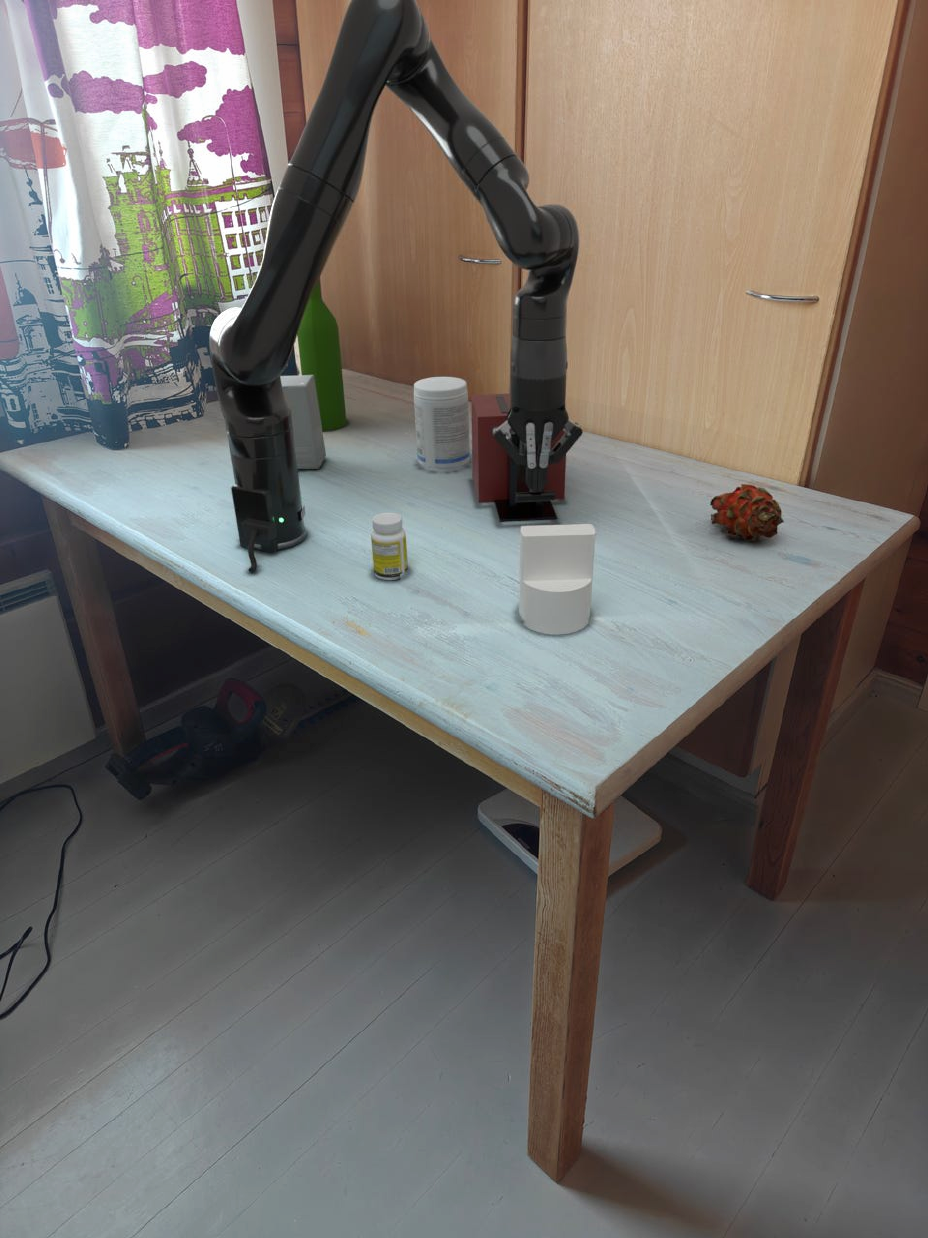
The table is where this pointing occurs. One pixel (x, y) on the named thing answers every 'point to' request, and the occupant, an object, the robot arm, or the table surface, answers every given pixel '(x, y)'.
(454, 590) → the table surface
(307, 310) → the wine bottle
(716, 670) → the table surface
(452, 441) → the supplement tub
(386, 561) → the supplement bottle
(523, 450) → the lever
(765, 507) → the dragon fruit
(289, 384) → the cosmetic box
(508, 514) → the lever bracket
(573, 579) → the cylinder with rectangular tab
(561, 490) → the toaster
